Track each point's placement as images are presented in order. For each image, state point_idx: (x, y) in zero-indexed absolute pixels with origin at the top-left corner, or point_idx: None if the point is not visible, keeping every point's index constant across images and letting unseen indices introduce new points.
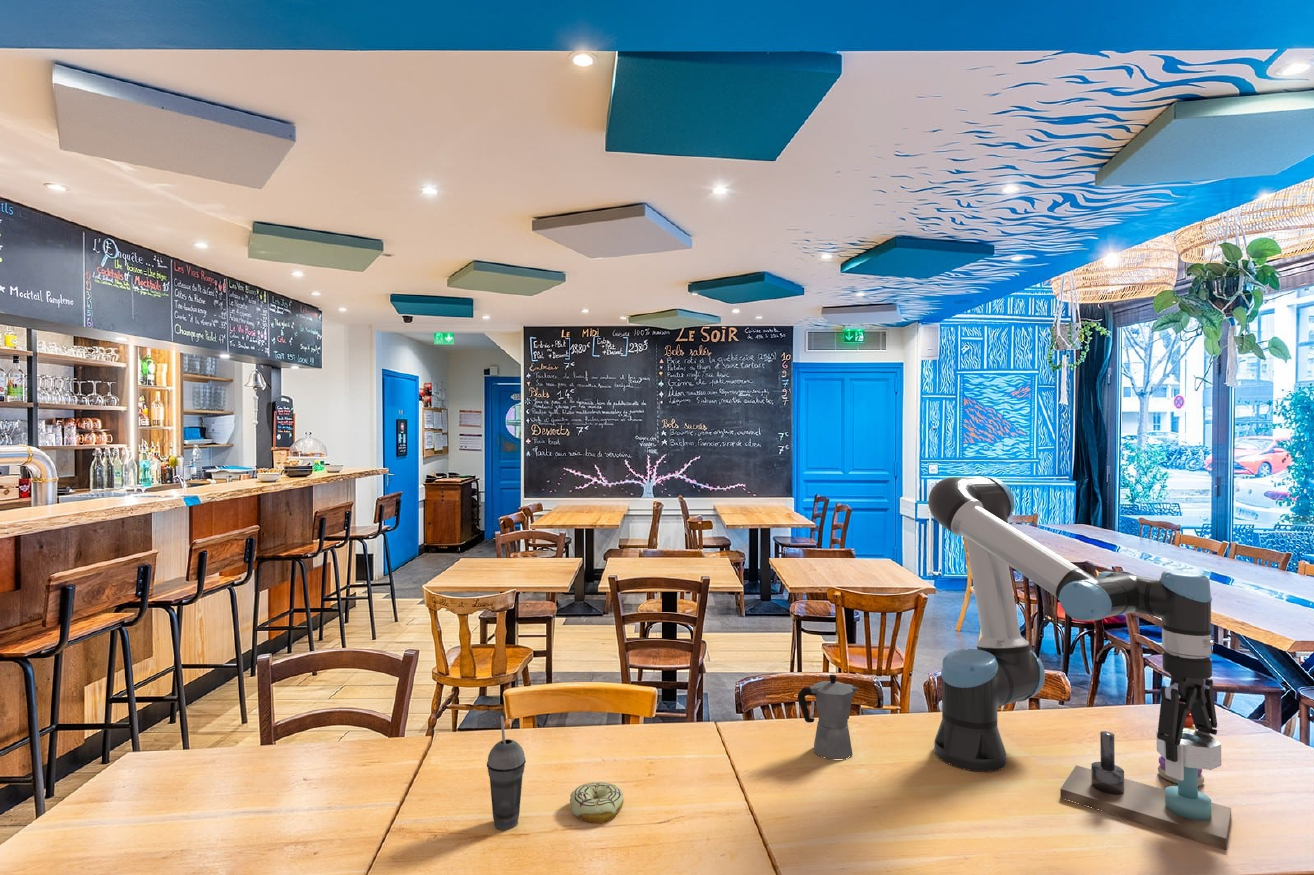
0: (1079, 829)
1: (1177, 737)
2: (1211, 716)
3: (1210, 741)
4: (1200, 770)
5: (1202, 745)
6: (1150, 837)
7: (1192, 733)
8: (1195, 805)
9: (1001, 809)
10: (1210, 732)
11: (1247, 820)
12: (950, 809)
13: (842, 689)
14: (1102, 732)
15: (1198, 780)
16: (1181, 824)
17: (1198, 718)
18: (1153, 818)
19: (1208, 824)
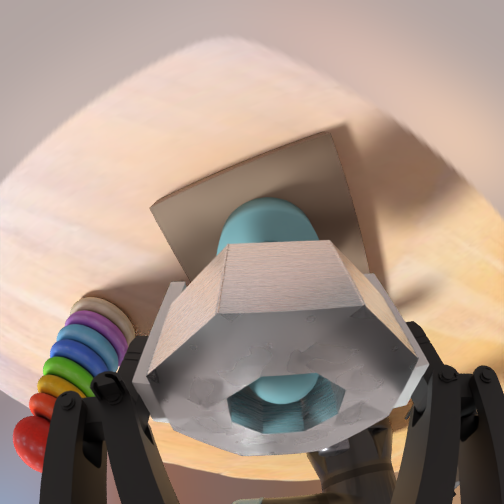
0: (451, 292)
1: (458, 394)
2: (76, 453)
3: (236, 355)
4: (79, 315)
5: (355, 342)
6: (400, 232)
7: (213, 417)
8: (309, 224)
9: (458, 352)
10: (127, 392)
11: (131, 182)
12: (483, 360)
13: (455, 485)
14: (336, 454)
15: (95, 303)
16: (353, 215)
17: (162, 475)
18: (365, 258)
19: (295, 186)
